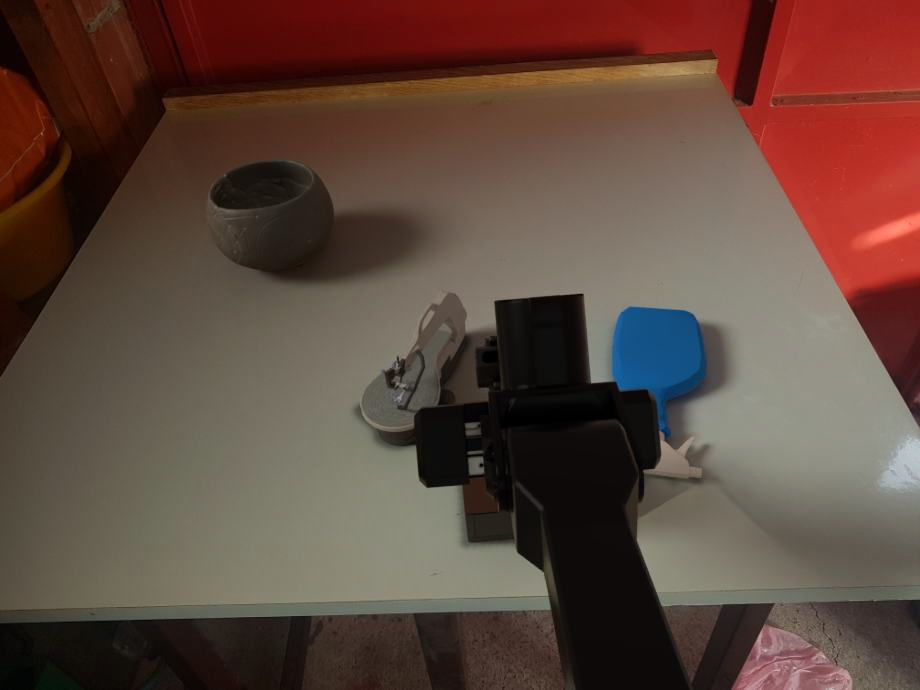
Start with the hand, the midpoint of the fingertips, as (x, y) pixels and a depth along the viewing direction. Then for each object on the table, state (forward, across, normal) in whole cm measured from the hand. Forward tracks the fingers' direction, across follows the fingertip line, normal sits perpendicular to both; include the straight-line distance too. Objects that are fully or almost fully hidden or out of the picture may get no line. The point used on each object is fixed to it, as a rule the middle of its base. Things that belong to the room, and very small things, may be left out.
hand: (526, 426), depth 63 cm
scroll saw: (+21, +10, -3) cm, 24 cm away
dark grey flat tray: (+9, 0, +8) cm, 12 cm away
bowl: (+43, +32, -24) cm, 59 cm away
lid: (+2, 0, +3) cm, 4 cm away
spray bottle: (+18, -17, 0) cm, 25 cm away
